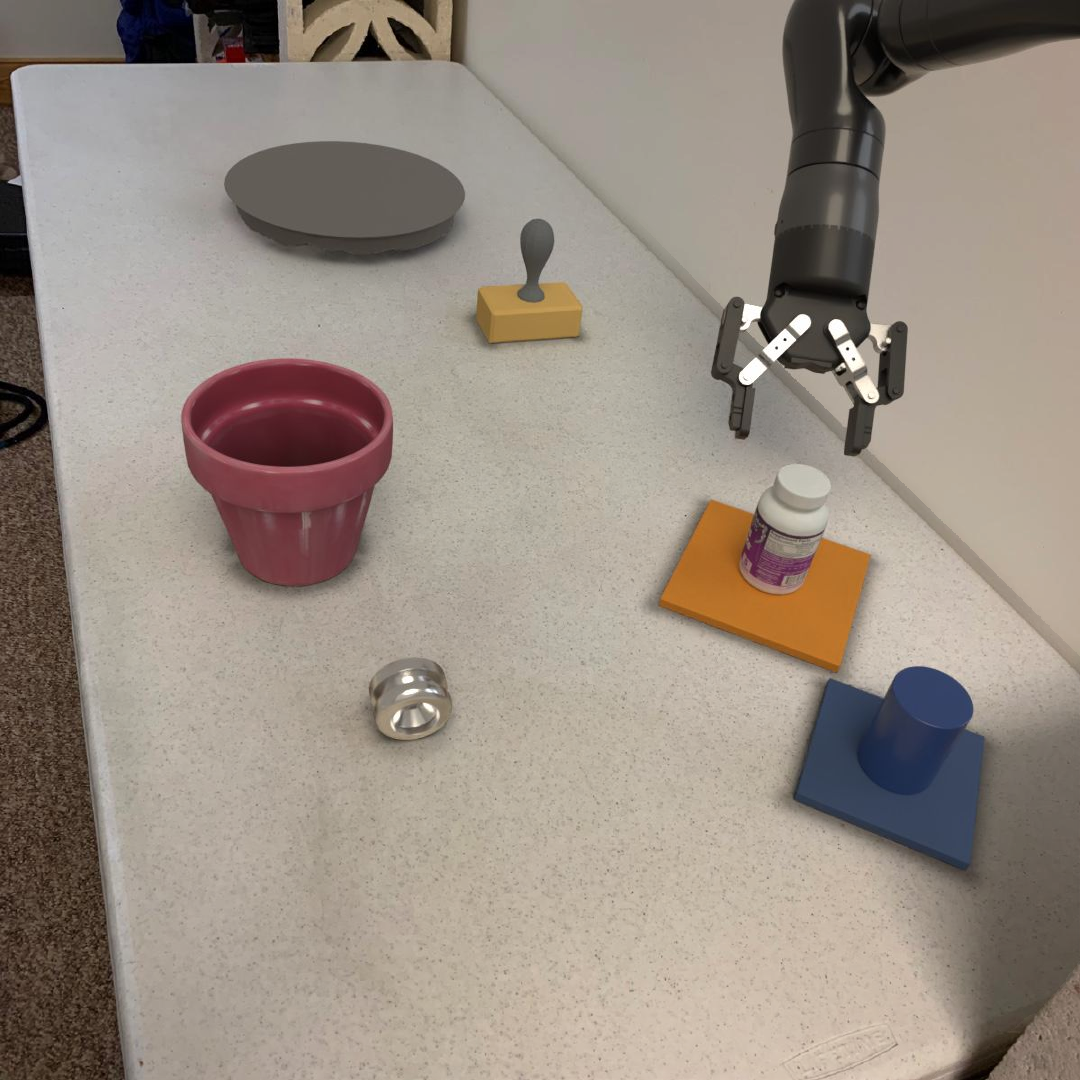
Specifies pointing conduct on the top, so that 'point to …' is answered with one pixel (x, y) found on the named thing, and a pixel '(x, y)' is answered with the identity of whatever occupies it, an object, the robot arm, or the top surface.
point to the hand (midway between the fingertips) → (797, 446)
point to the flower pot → (289, 462)
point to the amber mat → (769, 619)
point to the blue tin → (914, 729)
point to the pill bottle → (786, 530)
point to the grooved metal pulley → (410, 698)
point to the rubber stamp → (530, 298)
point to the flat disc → (345, 196)
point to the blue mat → (849, 794)
